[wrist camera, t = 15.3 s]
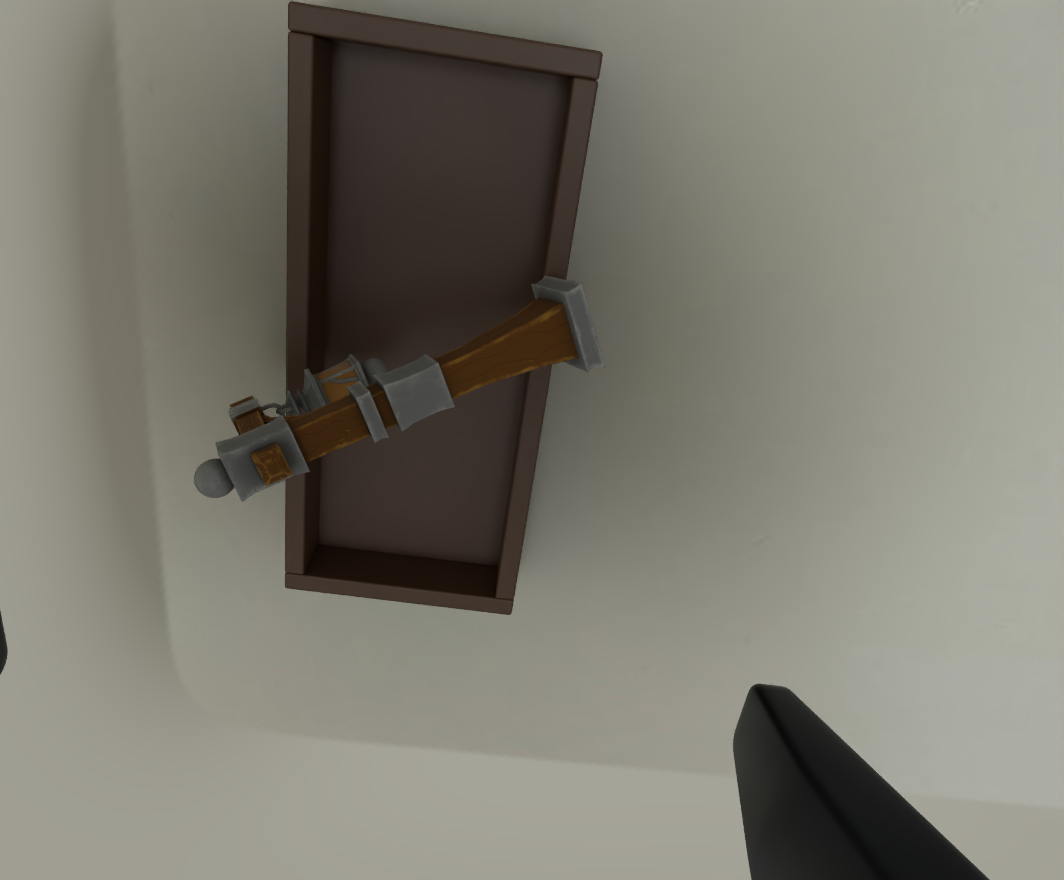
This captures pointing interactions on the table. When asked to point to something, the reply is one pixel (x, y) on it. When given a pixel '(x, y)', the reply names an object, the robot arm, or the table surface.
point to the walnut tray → (423, 286)
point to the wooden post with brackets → (395, 392)
